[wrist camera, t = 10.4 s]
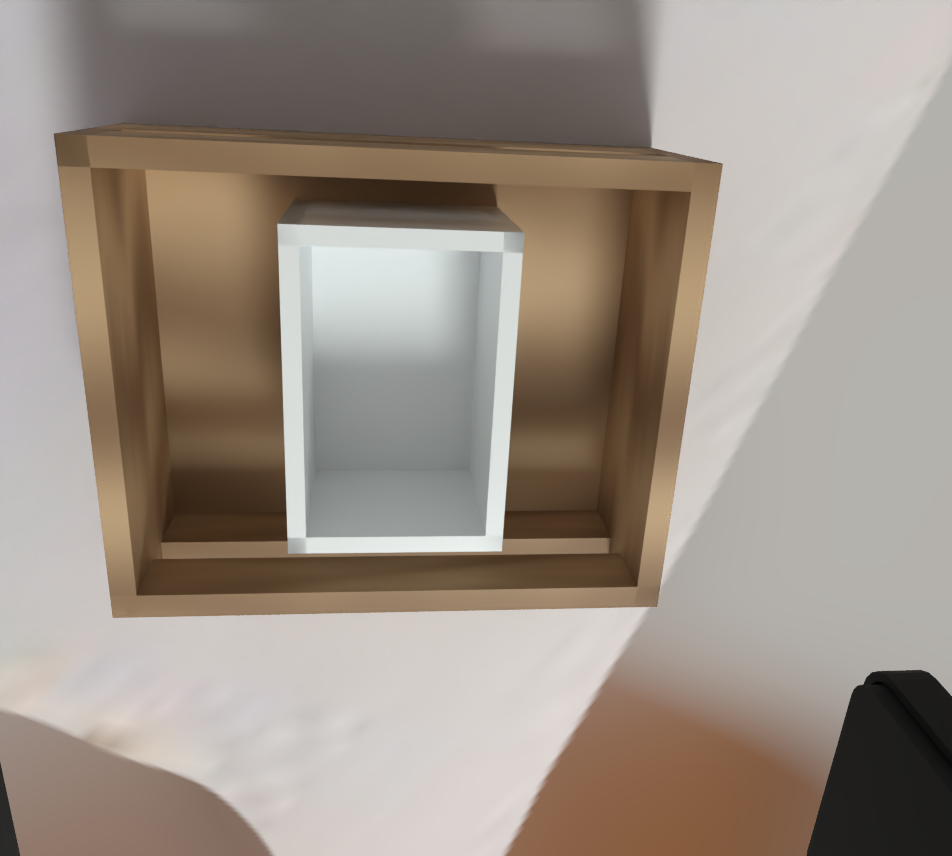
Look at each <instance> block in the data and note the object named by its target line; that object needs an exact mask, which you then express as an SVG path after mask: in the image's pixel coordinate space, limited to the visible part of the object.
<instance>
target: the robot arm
mask: <svg viewBox="0 0 952 856" xmlns="http://www.w3.org/2000/svg"><path fill="white" fill-rule="evenodd" d="M0 856H20V853H19V848H18V843H17V839H16V834H15V830H14V825H13V820H12V816H11V811H10V806H9V802H8V797H7V792H6V788H5V783H4V778H3V773H2V769H1V764H0ZM807 856H952V696H951V695H950V694H949V693H948V692H947V691H946V689H945V688H944V687H943V686H942V685H941V684H940V683H939V682H938V681H937V679H936V678H934V677H933V676H932V675H930V673H928V672H925V671H922V670H906V671H877V672H872V673H871V674H870V675H869V676H868V677H867V678H866V680H865V682H864V684H863V685H859V686H857V687H856V688H855V689H854V690H853V693H852V695H851V699H850V702H849V706H848V709H847V713H846V716H845V720H844V723H843V727H842V731H841V734H840V738H839V741H838V745H837V748H836V752H835V756H834V759H833V762H832V766H831V769H830V773H829V776H828V780H827V784H826V787H825V791H824V794H823V798H822V801H821V805H820V808H819V812H818V815H817V819H816V823H815V826H814V830H813V833H812V837H811V840H810V844H809V847H808V851H807Z"/></svg>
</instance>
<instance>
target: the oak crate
mask: <svg viewBox="0 0 952 856" xmlns="http://www.w3.org/2000/svg"><path fill="white" fill-rule="evenodd" d="M54 139H55V147H56V156H57V164H58V172H59V180H60V188H61V197H62V205H63V213H64V221H65V229H66V238H67V246H68V254H69V262H70V270H71V279H72V287H73V295H74V303H75V311H76V320H77V328H78V336H79V344H80V352H81V361H82V369H83V377H84V385H85V393H86V402H87V410H88V418H89V426H90V434H91V443H92V451H93V459H94V467H95V475H96V484H97V492H98V500H99V508H100V517H101V525H102V533H103V541H104V549H105V558H106V566H107V574H108V582H109V590H110V599H111V607H112V615H113V618H125V617H174V616H223V615H272V614H321V613H370V612H419V611H468V610H517V609H566V608H614V607H657V603H658V597H659V591H660V584H661V577H662V570H663V564H664V557H665V550H666V543H667V537H668V530H669V523H670V516H671V510H672V503H673V496H674V489H675V483H676V476H677V469H678V462H679V455H680V449H681V442H682V435H683V428H684V422H685V415H686V408H687V401H688V395H689V388H690V381H691V374H692V368H693V361H694V354H695V347H696V341H697V334H698V327H699V320H700V314H701V307H702V300H703V293H704V287H705V280H706V273H707V266H708V260H709V253H710V246H711V239H712V233H713V226H714V219H715V212H716V206H717V199H718V192H719V185H720V179H721V172H722V165H723V164H721V163H717V162H712V161H708V160H703V159H699V158H694V157H690V156H685V155H681V154H676V153H672V152H667V151H663V150H658V149H654V148H639V147H617V146H596V145H575V144H553V143H532V142H510V141H489V140H468V139H446V138H425V137H404V136H382V135H361V134H340V133H318V132H297V131H275V130H254V129H233V128H211V127H190V126H169V125H147V124H126V123H122V124H115V125H109V126H102V127H95V128H89V129H82V130H75V131H69V132H62V133H55V134H54ZM294 199H316V200H342V201H368V202H394V203H419V204H445V205H471V206H497V207H498V208H499V209H500V210H501V211H502V212H504V213H505V214H506V215H507V216H508V217H509V218H510V219H511V220H512V221H513V222H514V223H515V224H516V225H517V226H518V227H519V228H520V229H521V230H522V231H523V232H524V246H523V260H522V274H521V288H520V302H519V316H518V330H517V345H516V359H515V373H514V387H513V401H512V415H511V429H510V443H509V457H508V471H507V486H506V500H505V514H504V528H503V542H502V551H487V552H395V553H303V554H288V538H287V507H286V476H285V445H284V413H283V382H282V351H281V320H280V289H279V258H278V226H277V224H278V222H279V221H280V219H281V218H282V217H283V215H284V214H285V212H286V211H287V209H288V208H289V206H290V205H291V203H292V202H293V201H294Z"/></svg>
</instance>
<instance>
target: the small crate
mask: <svg viewBox="0 0 952 856" xmlns="http://www.w3.org/2000/svg"><path fill="white" fill-rule="evenodd" d="M277 226H278V258H279V289H280V320H281V351H282V382H283V413H284V445H285V476H286V507H287V538H288V554H303V553H395V552H487V551H502V542H503V528H504V514H505V500H506V486H507V471H508V457H509V443H510V429H511V415H512V401H513V387H514V373H515V359H516V345H517V330H518V316H519V302H520V288H521V274H522V260H523V246H524V232H523V231H522V230H521V229H520V228H519V227H518V226H517V225H516V224H515V223H514V222H513V221H512V220H511V219H510V218H509V217H508V216H507V215H506V214H505V213H504V212H502V211H501V210H500V209H499V208H498V207H497V206H471V205H445V204H419V203H394V202H368V201H342V200H316V199H294V201H293V202H292V203H291V205H290V206H289V208H288V209H287V211H286V212H285V214H284V215H283V217H282V218H281V219H280V221H279V222H278V224H277Z"/></svg>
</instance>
